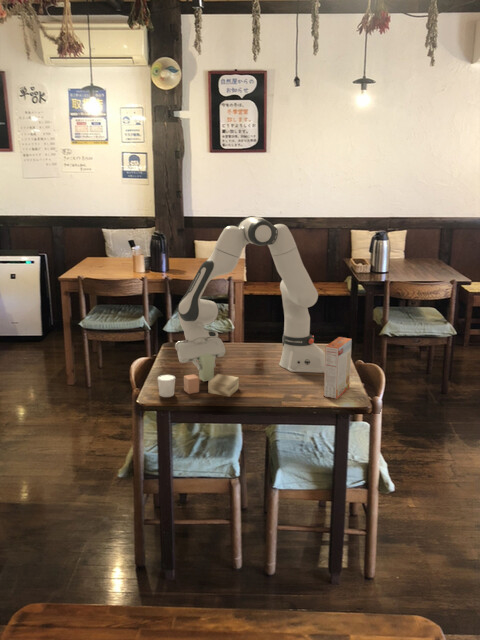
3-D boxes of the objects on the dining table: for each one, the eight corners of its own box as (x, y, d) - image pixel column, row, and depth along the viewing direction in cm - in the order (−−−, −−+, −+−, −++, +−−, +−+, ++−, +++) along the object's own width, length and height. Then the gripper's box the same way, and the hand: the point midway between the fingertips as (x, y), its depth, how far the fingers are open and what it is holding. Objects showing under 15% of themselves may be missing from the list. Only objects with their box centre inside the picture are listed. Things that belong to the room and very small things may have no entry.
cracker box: (335, 385, 250) (338, 336, 245) (349, 388, 247) (353, 338, 242) (322, 396, 239) (324, 345, 233) (336, 399, 236) (339, 347, 230)
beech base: (238, 389, 246) (238, 377, 244) (229, 397, 238) (229, 385, 236) (218, 385, 249) (218, 374, 248) (208, 393, 241) (208, 381, 240)
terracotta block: (194, 388, 246) (194, 374, 244) (199, 392, 242) (198, 377, 240) (183, 390, 243) (183, 375, 242) (188, 394, 240) (188, 379, 238)
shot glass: (172, 398, 235) (172, 381, 233) (155, 396, 236) (154, 379, 234) (177, 391, 242) (177, 375, 240) (161, 390, 243) (160, 373, 241)
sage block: (209, 376, 256) (208, 353, 253) (213, 379, 252) (213, 356, 250) (199, 378, 254) (198, 355, 251) (203, 381, 250) (203, 358, 247)
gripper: (175, 338, 250) (185, 368, 244) (220, 331, 259) (231, 360, 253) (171, 345, 255) (181, 375, 249) (216, 339, 264) (226, 367, 258)
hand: (207, 368), depth 251 cm, fingers closed on sage block, 4 cm apart
